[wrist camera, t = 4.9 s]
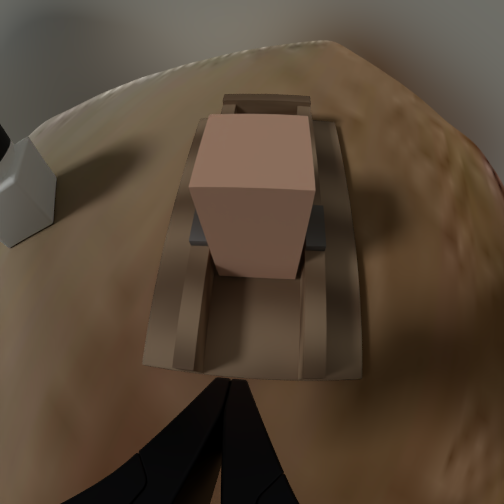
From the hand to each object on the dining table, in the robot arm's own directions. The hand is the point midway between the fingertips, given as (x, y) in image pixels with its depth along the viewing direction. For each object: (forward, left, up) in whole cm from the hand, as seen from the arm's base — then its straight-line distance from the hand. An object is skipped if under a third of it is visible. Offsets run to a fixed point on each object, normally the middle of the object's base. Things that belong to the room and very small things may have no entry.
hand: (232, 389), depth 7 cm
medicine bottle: (+23, +17, -11) cm, 30 cm away
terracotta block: (+9, -4, -9) cm, 14 cm away
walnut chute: (+12, -5, -10) cm, 17 cm away
